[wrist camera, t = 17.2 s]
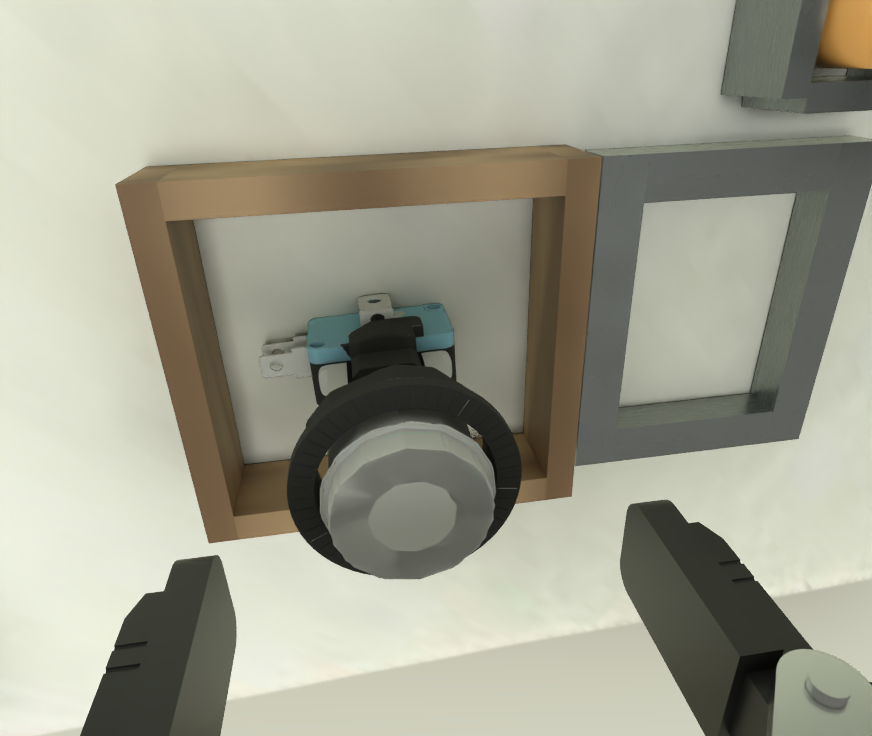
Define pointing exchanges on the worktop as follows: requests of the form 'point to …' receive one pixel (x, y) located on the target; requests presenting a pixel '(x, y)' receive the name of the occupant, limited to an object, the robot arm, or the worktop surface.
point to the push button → (394, 444)
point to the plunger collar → (787, 60)
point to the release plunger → (846, 35)
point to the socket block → (790, 308)
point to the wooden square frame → (344, 190)
